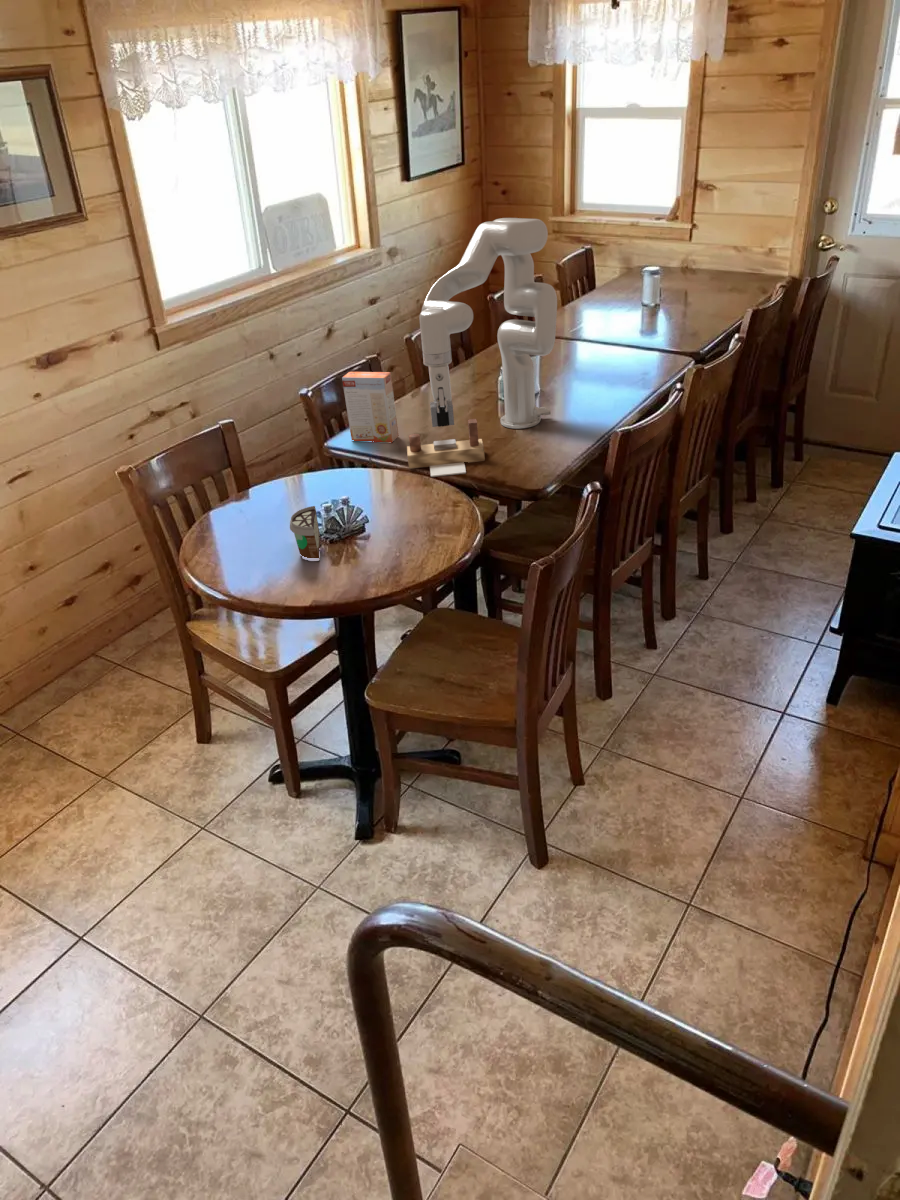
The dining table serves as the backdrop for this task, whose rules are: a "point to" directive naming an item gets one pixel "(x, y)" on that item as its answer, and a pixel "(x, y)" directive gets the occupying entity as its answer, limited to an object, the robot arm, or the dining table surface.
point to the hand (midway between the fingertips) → (442, 421)
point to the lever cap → (434, 415)
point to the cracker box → (370, 406)
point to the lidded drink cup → (306, 531)
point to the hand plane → (446, 450)
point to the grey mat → (447, 469)
